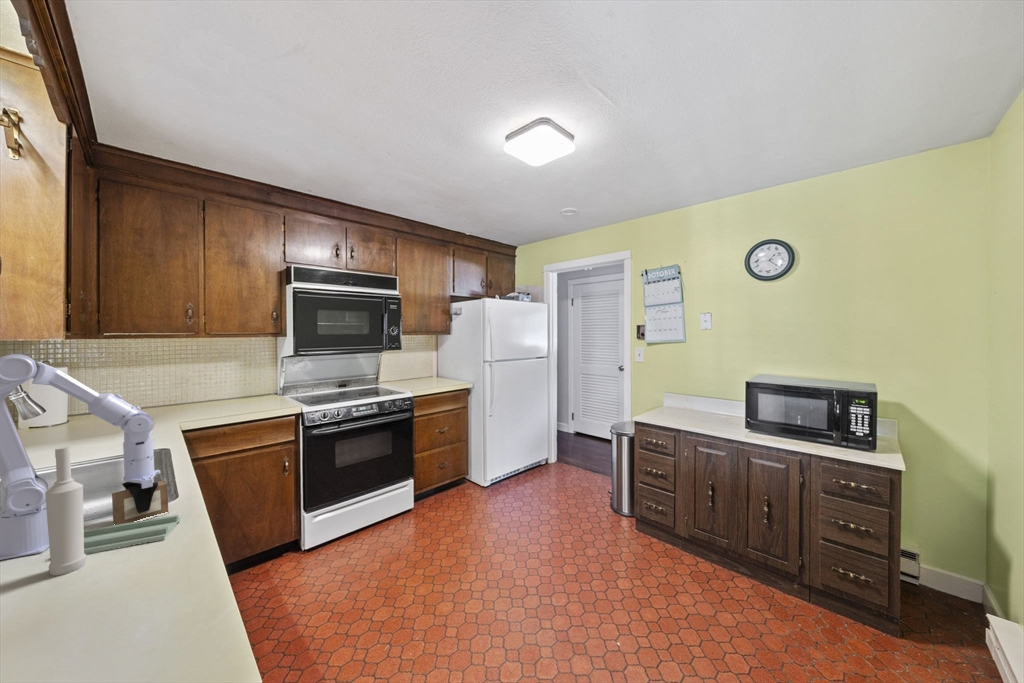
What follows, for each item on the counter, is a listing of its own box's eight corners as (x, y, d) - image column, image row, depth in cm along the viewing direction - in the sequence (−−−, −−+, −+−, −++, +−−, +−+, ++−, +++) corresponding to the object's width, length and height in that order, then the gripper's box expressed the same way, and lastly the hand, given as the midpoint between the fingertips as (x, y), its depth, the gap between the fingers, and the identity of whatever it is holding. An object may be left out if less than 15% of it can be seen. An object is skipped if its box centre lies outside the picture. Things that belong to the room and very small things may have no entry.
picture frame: (116, 528, 99) (115, 496, 99) (113, 524, 101) (111, 493, 101) (168, 513, 107) (167, 483, 107) (164, 509, 109) (162, 480, 109)
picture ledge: (58, 559, 85) (58, 549, 85) (85, 537, 95) (84, 528, 94) (164, 539, 93) (164, 530, 93) (180, 521, 102) (179, 513, 102)
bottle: (61, 577, 79) (55, 451, 78) (41, 575, 80) (35, 451, 79) (93, 562, 84) (88, 444, 83) (74, 560, 85) (69, 443, 84)
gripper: (167, 458, 103) (169, 510, 103) (151, 449, 111) (153, 497, 112) (129, 466, 97) (132, 521, 97) (116, 456, 106) (118, 507, 106)
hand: (141, 509), depth 104 cm, fingers closed on picture frame, 4 cm apart
